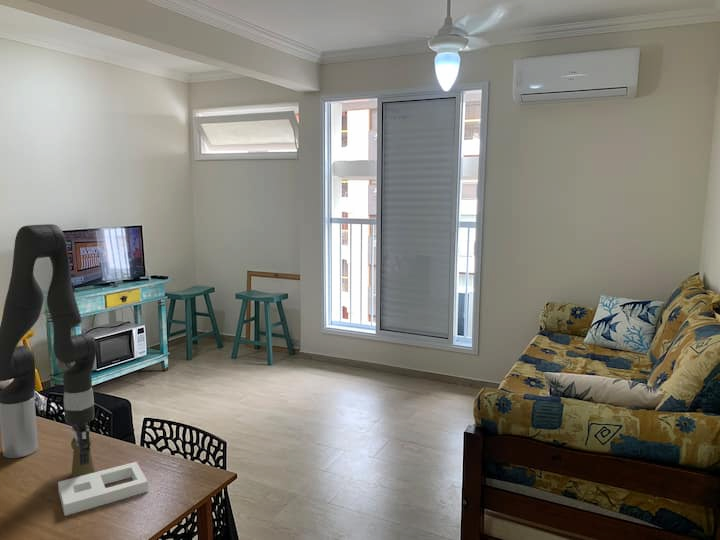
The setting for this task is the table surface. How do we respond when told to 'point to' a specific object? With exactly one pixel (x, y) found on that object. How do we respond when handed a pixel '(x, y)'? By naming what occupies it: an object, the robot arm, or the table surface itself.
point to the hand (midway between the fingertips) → (82, 458)
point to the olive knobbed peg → (76, 467)
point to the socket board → (100, 488)
